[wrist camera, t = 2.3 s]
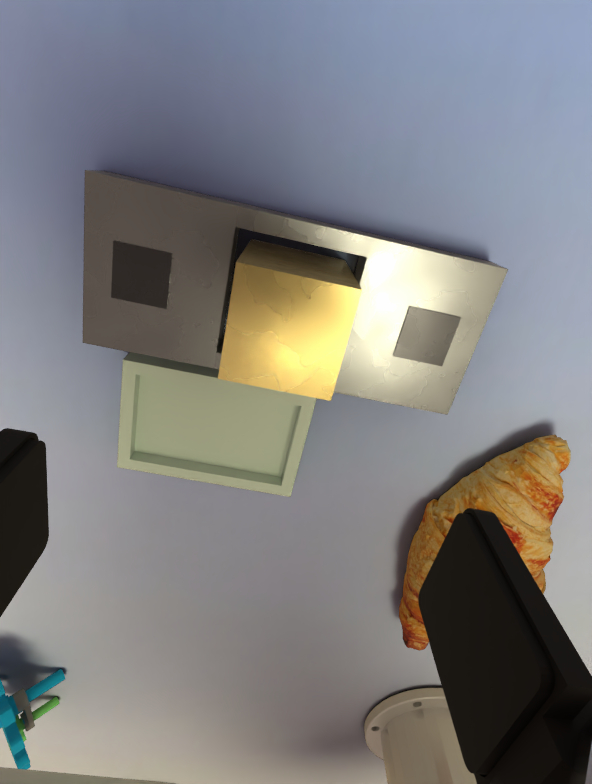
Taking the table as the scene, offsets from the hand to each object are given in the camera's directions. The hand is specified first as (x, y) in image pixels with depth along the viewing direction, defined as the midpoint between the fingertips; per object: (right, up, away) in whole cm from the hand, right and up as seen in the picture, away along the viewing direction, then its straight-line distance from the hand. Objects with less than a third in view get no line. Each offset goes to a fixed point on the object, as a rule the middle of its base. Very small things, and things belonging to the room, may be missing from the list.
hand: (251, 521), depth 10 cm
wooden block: (+1, +9, +17) cm, 19 cm away
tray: (-4, +1, +20) cm, 21 cm away
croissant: (+15, -8, +25) cm, 30 cm away
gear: (-24, -24, +33) cm, 47 cm away
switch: (+1, +9, +17) cm, 19 cm away
